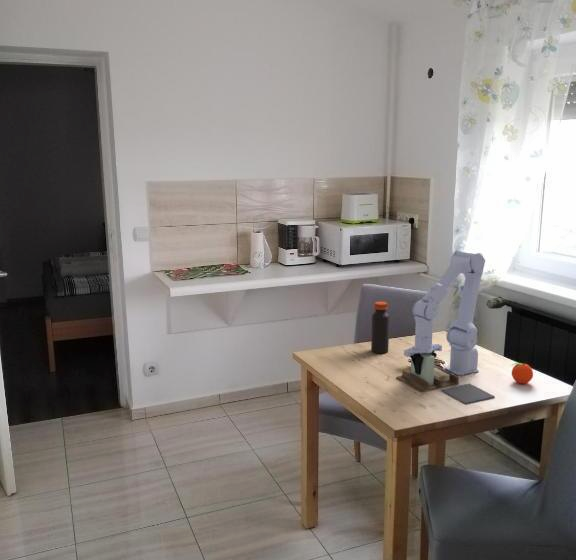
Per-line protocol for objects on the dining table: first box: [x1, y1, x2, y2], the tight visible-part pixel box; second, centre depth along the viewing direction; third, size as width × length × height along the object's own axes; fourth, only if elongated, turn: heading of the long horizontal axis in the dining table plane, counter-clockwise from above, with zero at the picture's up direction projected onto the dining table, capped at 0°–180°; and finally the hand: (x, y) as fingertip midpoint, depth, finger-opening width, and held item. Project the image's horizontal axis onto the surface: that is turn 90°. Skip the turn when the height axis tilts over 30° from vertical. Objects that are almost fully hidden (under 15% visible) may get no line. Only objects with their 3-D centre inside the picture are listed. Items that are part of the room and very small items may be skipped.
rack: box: [396, 364, 460, 393], centre depth 209 cm, size 16×14×3 cm
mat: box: [440, 383, 496, 405], centre depth 197 cm, size 12×12×1 cm
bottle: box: [370, 301, 390, 355], centre depth 237 cm, size 7×7×20 cm
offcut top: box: [434, 368, 450, 379], centre depth 210 cm, size 5×8×1 cm, turn 25°
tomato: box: [508, 362, 534, 384], centre depth 206 cm, size 8×7×7 cm
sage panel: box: [410, 353, 436, 385], centre depth 207 cm, size 3×9×10 cm, turn 24°
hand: (422, 372), depth 207 cm, fingers closed on sage panel, 3 cm apart
